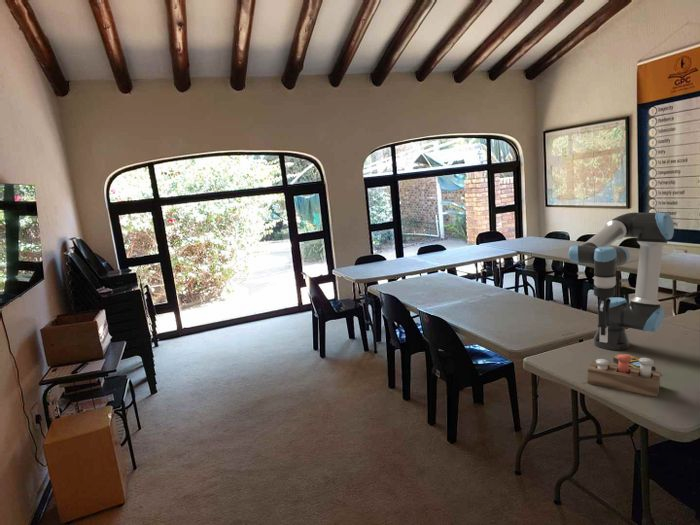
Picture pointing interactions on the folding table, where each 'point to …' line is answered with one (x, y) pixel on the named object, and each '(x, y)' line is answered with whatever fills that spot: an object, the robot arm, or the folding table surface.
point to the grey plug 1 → (602, 364)
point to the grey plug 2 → (645, 367)
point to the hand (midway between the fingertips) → (603, 341)
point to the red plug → (623, 363)
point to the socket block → (624, 379)
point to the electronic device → (633, 362)
